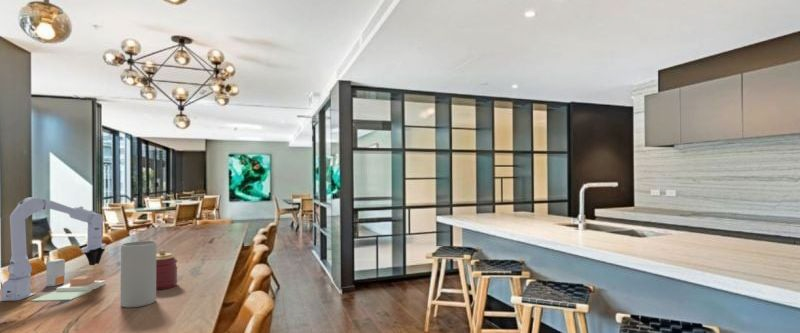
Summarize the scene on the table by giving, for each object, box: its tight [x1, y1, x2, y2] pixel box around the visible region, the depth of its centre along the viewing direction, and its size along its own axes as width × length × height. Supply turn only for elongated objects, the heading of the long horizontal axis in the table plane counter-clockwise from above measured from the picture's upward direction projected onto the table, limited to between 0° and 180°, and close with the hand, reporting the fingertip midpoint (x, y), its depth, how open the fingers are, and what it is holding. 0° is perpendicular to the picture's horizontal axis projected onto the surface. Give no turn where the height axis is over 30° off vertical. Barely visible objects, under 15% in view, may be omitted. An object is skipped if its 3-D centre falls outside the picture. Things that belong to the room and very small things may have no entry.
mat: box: [30, 290, 92, 302], centre depth 180 cm, size 13×16×1 cm
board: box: [55, 280, 106, 292], centre depth 193 cm, size 12×14×2 cm
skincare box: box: [45, 258, 66, 287], centre depth 200 cm, size 6×4×12 cm
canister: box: [156, 249, 179, 291], centre depth 195 cm, size 13×13×18 cm
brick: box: [69, 275, 95, 286], centre depth 193 cm, size 6×7×3 cm
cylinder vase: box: [119, 240, 157, 309], centre depth 169 cm, size 12×12×25 cm
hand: (94, 264), depth 202 cm, fingers open, 3 cm apart
